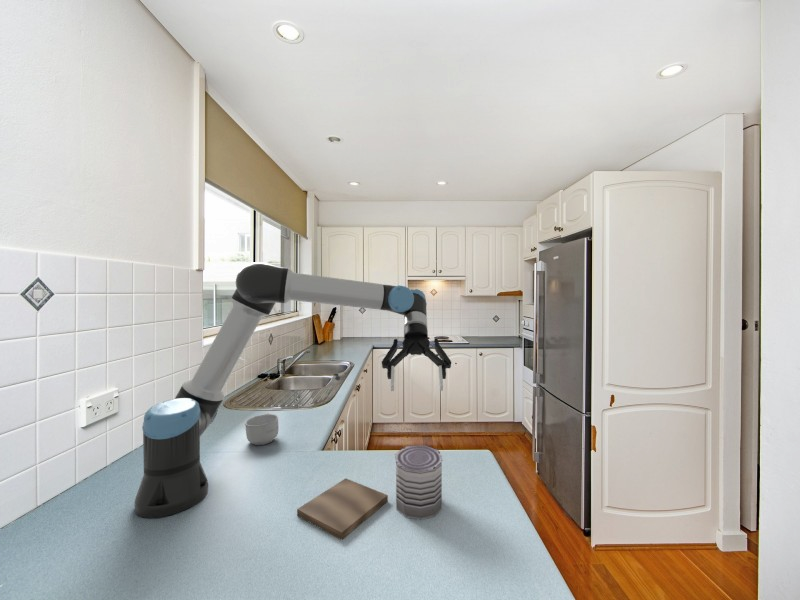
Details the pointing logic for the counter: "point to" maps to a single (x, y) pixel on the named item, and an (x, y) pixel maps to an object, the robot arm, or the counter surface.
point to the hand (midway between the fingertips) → (416, 388)
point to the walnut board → (342, 507)
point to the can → (418, 482)
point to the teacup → (262, 429)
